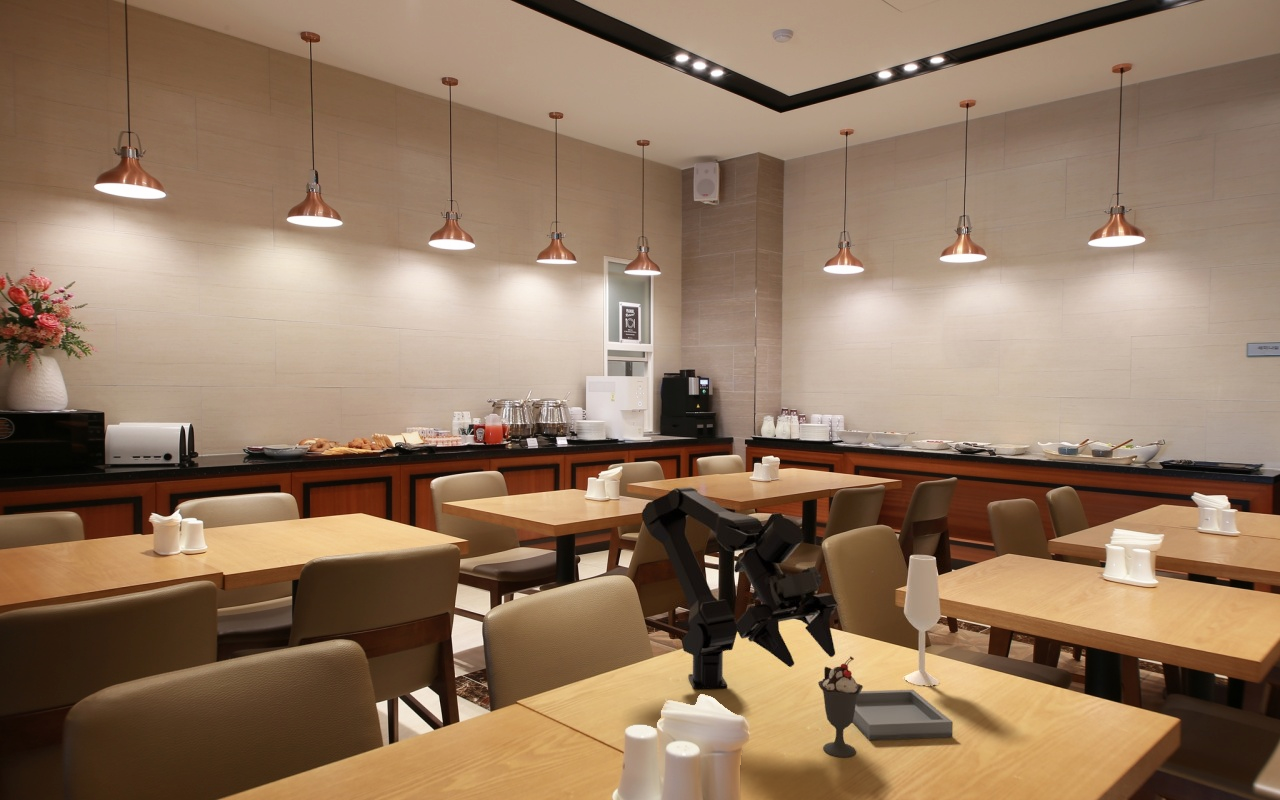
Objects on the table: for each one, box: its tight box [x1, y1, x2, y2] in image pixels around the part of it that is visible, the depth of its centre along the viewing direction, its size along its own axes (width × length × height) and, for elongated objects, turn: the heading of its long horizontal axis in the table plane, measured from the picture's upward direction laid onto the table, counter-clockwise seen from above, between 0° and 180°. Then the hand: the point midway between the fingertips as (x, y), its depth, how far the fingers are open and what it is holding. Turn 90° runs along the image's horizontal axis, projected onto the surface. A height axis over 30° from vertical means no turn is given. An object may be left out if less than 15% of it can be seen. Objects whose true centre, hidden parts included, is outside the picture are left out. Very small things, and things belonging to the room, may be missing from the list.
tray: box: [852, 689, 954, 741], centre depth 132 cm, size 14×14×2 cm
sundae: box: [817, 656, 864, 758], centre depth 121 cm, size 7×7×15 cm
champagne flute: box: [903, 554, 942, 686], centre depth 151 cm, size 7×7×24 cm
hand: (813, 660), depth 126 cm, fingers open, 9 cm apart
